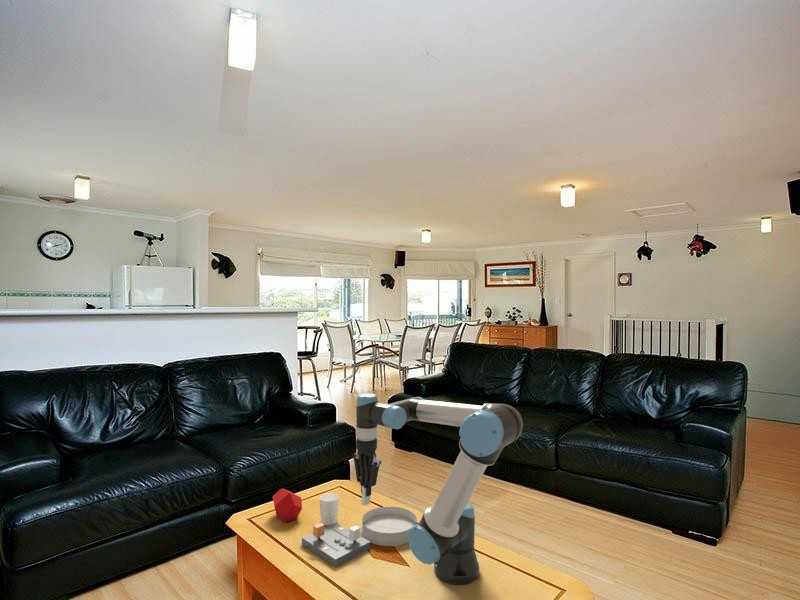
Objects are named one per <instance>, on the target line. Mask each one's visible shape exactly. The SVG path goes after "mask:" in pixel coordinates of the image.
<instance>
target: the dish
mask: <svg viewBox="0 0 800 600" xmlns="http://www.w3.org/2000/svg"><path fill="white" fill-rule="evenodd" d="M417 524H418V517H417V516H416V514H415V513H414V512H412V511H411V510H408V509H406V508H404V507H399V506H382V507H381V506H380V507H376V508H373V509H370V510H368V511H367V512H365V513H364V514H363V515H362V517H361V527H360V530H361V536H362V537H363V538H364V539H366V540H368V541H370V544H373V545H378V546H382V547H383V546H384V547H395V546H401V545H405V544H408V543H407V542H408V533H409V531H410V529H411V528H412V527H413V526H414V525H417Z"/></svg>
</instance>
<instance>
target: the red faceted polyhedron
mask: <svg viewBox="0 0 800 600" xmlns="http://www.w3.org/2000/svg"><path fill="white" fill-rule="evenodd" d="M272 501H273V505H274V511H275V515H276V519H278V520H280V521H281V522H284V523H287V522H290V521H293V520H296V519H298V518H299V515H300V513H301V511H302V510H303V504H302V503H303V501H302V497H301V496H300V495H297V494H296V493H293V492H292V491H289V490H287V489H285V488H281V489H279V490H278V491H277V492H276V493H274V495H272Z"/></svg>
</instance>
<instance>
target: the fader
mask: <svg viewBox="0 0 800 600" xmlns="http://www.w3.org/2000/svg"><path fill="white" fill-rule="evenodd" d="M324 528H325V525H324V524H322V523H321V522H319V523H316V524H314V525H313V529H312V530H313V531H312V533H313V536H315V537H317V538H318V539H320V536H322V535H324Z"/></svg>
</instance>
